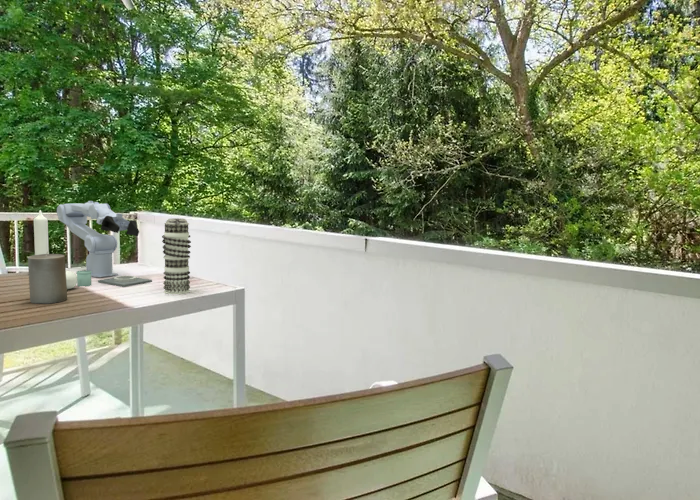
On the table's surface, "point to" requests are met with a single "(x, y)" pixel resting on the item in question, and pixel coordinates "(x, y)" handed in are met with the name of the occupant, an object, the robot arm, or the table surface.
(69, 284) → the lightbulb
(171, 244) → the decorative candle
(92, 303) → the table surface
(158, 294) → the table surface
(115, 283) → the socket board
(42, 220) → the candle
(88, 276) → the cup
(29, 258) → the pillar candle
